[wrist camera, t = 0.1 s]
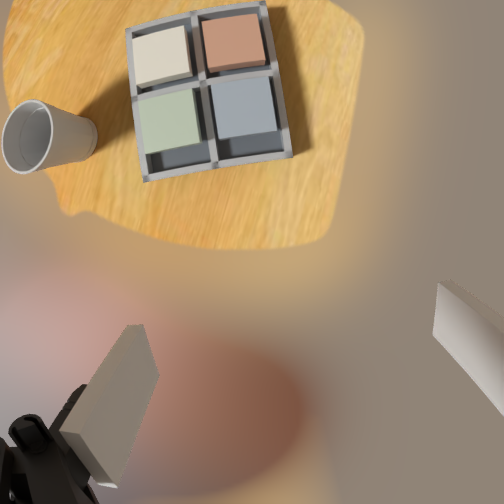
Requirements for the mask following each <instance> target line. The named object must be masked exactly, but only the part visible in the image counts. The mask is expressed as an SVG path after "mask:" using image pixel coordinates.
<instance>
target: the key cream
mask: <svg viewBox="0 0 504 504" xmlns="http://www.w3.org/2000/svg"><path fill="white" fill-rule="evenodd" d="M132 45H133V57H134V69H135V79H136V85H137V86H139V87H140V88H146V87H149V86H153V85H157V84H161V83H165V82H169V81H174V80H178V79H183V78H187V77H192V76H193V74H192V67H191V60H190V52H189V44H188V36H187V31H186V29H185V27H184V25H183V26H179V27H175V28H170V29H166V30H162V31H159V32H155V33H151V34H148V35H144V36H141V37H137V38H134V39H132Z"/></svg>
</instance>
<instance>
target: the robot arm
mask: <svg viewBox="0 0 504 504" xmlns="http://www.w3.org/2000/svg"><path fill="white" fill-rule="evenodd" d="M433 336H434V337H435V338H436V339H437V340H438V341H439V342H440V343H441V344H442V346H443V347H445V349H446V350H447V351H448V352H449V353H450V354H451V355H452V357H454V359H455V360H456V361H457V362H458V363H459V364H460V365H461V367H462V368H463V369H464V370H465V371H466V372H467V373H468V374H469V376H470V377H471V378H472V379H473V380H474V382H475V383H476V384H477V385H478V386H479V387H480V388H481V390H482V391H483V392H484V393H485V394H486V396H487V397H488V398H489V399H490V400H491V402H492V403H493V404H494V405H495V406H496V408H497V409H498V410H499V411H500V412H501V414H502V415H503V416H504V317H503V316H502V315H500V314H499V313H498V312H496V311H495V310H493V309H492V308H491V307H489V306H488V305H487V304H485V303H484V302H482V301H481V300H480V299H478V298H477V297H475V296H474V295H473V294H471V293H470V292H468V291H467V290H465V289H464V288H463V287H461V286H459V285H458V284H457V283H455V282H454V281H452V280H448V281H443V282H438V290H437V302H436V311H435V319H434V328H433ZM158 378H159V372H158V369H157V366H156V363H155V360H154V357H153V354H152V351H151V348H150V345H149V342H148V339H147V336H146V332H145V329H144V326H143V324H140V325H128V326H127V327H126V328H125V330H124V331H123V333H122V334H121V335H120V337H119V338H118V340H117V341H116V343H115V344H114V346H113V347H112V349H111V350H110V352H109V353H108V355H107V356H106V358H105V359H104V361H103V362H102V364H101V365H100V367H99V368H98V370H97V371H96V373H95V374H94V376H93V377H92V379H91V380H90V382H89V384H88V385H86V384H82V385H81V386H80V387H79V388H77V389H76V390H75V391H74V392H73V393H72V395H71V396H70V398H69V399H68V400H67V403H65V405H64V407H63V410H61V411H60V412H59V414H58V416H57V417H56V419H55V420H54V422H53V423H52V425H51V427H50V428H49V430H48V429H47V427H46V426H45V424H44V422H43V421H42V419H41V418H40V417H39V416H37V415H35V414H28V415H23V416H22V417H19V418H17V419H16V420H15V421H14V422H13V423H12V424H11V426H10V428H9V433H8V434H9V435H10V437H11V438H12V440H13V441H14V442H15V444H16V445H17V446H18V447H9V446H8V445H7V444H6V442H5V441H4V439H3V438H1V437H0V504H99V502H98V500H97V498H96V496H95V494H94V492H93V490H92V488H91V487H90V486H89V484H88V480H89V478H90V476H92V477H93V479H94V480H95V481H96V482H97V484H98V485H102V486H108V487H114V488H118V487H119V484H120V481H121V478H122V475H123V472H124V469H125V467H126V464H127V461H128V458H129V455H130V453H131V450H132V447H133V444H134V442H135V439H136V436H137V433H138V431H139V428H140V425H141V423H142V420H143V417H144V415H145V412H146V409H147V407H148V404H149V401H150V399H151V396H152V394H153V391H154V388H155V386H156V383H157V381H158ZM9 493H11V498H10V496H9Z"/></svg>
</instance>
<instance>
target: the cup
mask: <svg viewBox="0 0 504 504" xmlns="http://www.w3.org/2000/svg"><path fill="white" fill-rule="evenodd" d="M97 140H98V133H97V129H96V126H95V124H94V123H93V122H92V121H91V120H90V119H88V118H86V117H81V116H77V115H74V114H72V113H69V112H66V111H64V110H61V109H58V108H56V107H54V106H52V105H49V104H47V103H44V102H42V101H39V100H35V99H31V100H27V101H24V102H22V103H21V104H19V105H18V106H17V107H16V108H15V109H14V110H13V111H12V112H11V114H10V115H9V117H8V119H7V121H6V123H5V126H4V129H3V133H2V142H1V146H2V154H3V157H4V160H5V162H6V164H7V165H8V167H9V168H10V169H11V170H12V171H14V172H16V173H19V174H28V173H31V172H35V171H38V170H42V169H46V168H49V167H54V166H58V165H63V164H68V163H74V162H82V161H84V160H86V159H87V158H88V157H90V155H91V154H92V153H93V151H94V150H95V147H96V145H97Z"/></svg>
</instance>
